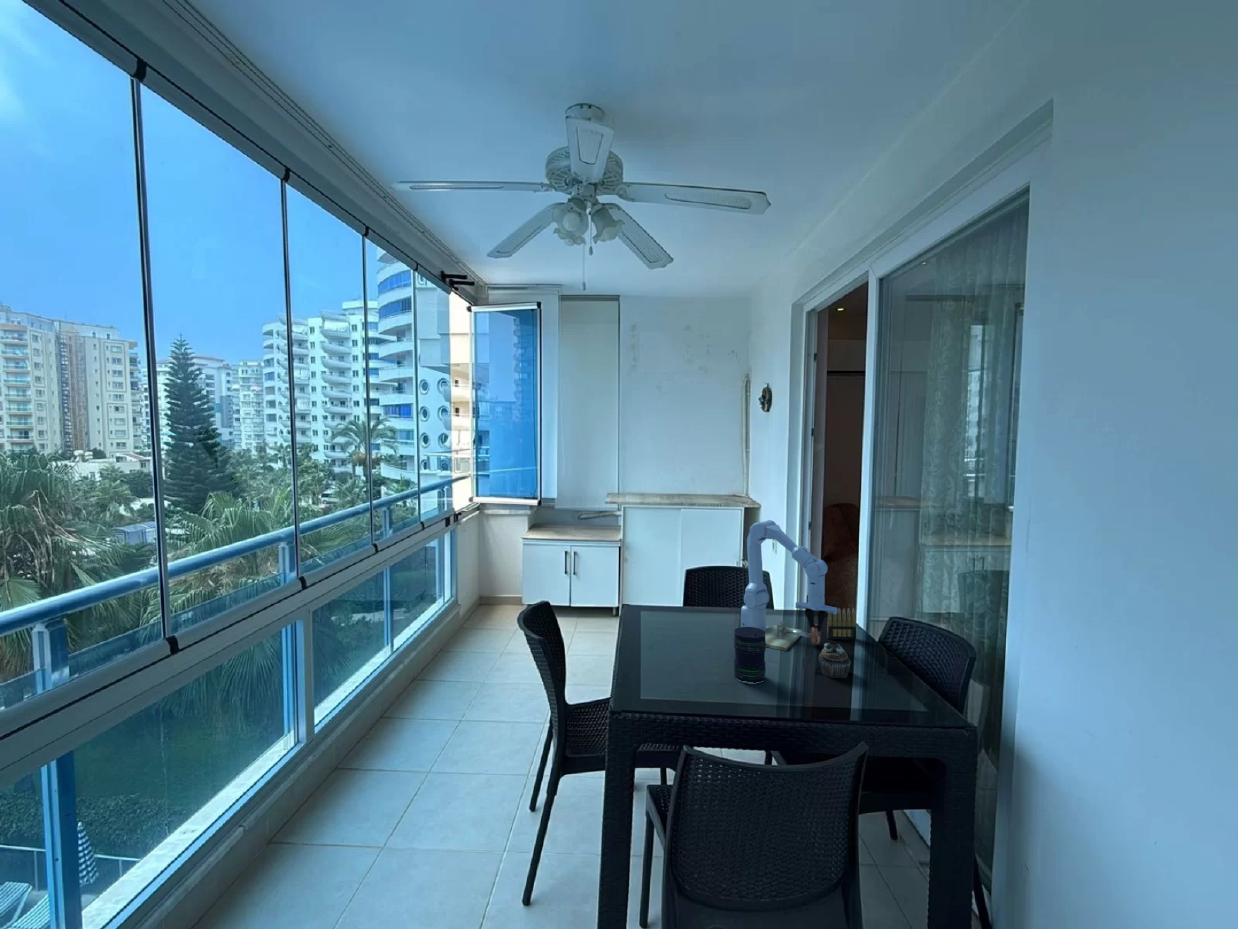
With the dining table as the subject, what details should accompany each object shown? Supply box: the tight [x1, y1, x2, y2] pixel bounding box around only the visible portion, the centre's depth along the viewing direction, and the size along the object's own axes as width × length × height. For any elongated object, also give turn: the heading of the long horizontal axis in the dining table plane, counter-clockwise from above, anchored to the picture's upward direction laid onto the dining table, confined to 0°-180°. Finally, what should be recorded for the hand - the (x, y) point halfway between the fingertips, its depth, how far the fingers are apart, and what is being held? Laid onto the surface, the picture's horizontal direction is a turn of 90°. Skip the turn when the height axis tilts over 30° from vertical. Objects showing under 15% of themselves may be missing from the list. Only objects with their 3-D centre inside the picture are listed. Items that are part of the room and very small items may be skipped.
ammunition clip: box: [825, 607, 857, 641], centre depth 212 cm, size 11×2×12 cm, turn 86°
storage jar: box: [733, 626, 767, 683], centre depth 177 cm, size 10×10×15 cm
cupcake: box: [818, 641, 852, 679], centre depth 180 cm, size 10×10×10 cm
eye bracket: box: [765, 620, 804, 652], centre depth 213 cm, size 12×22×6 cm, turn 147°
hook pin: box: [785, 623, 822, 645], centre depth 208 cm, size 12×7×7 cm, turn 57°
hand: (815, 630), depth 205 cm, fingers closed on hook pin, 2 cm apart
